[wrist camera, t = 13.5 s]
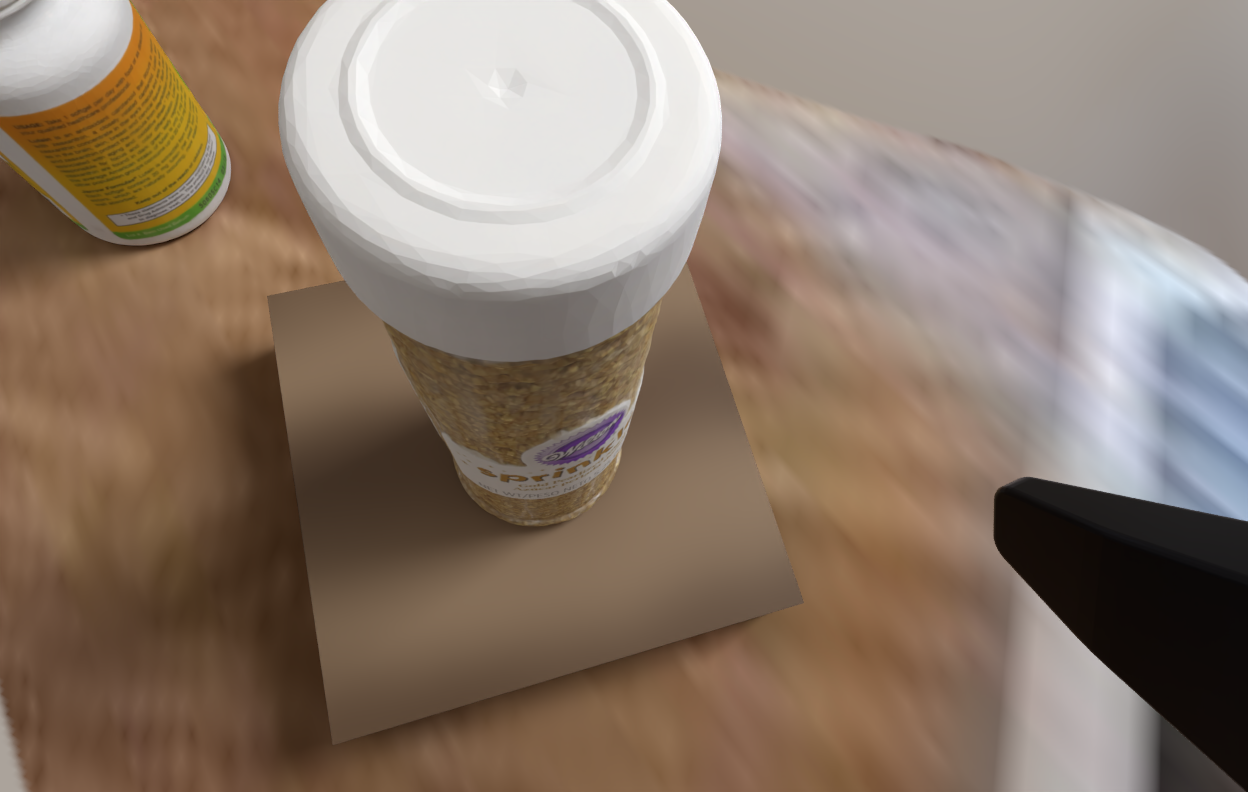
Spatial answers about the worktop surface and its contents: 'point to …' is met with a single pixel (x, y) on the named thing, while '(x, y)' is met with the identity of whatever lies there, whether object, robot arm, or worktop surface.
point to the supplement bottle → (105, 121)
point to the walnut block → (508, 525)
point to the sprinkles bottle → (509, 214)
